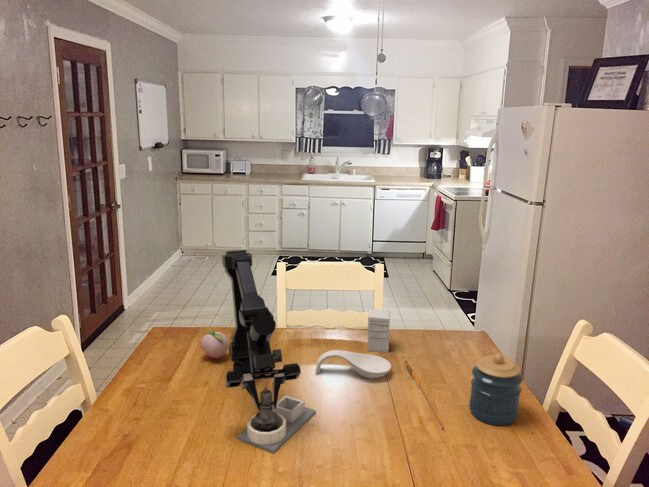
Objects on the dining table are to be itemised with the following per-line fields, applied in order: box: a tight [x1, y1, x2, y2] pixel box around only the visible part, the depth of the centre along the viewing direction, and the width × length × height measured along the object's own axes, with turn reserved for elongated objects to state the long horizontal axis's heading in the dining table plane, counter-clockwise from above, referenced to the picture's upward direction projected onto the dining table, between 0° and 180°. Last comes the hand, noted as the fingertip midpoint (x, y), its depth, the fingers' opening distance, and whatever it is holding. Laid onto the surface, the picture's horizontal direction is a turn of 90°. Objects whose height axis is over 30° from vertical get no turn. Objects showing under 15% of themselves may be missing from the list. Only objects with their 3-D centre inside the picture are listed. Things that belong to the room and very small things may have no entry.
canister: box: [468, 353, 524, 426], centre depth 143 cm, size 13×13×18 cm
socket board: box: [237, 395, 317, 454], centre depth 138 cm, size 20×11×4 cm, turn 150°
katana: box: [404, 360, 444, 429], centre depth 153 cm, size 1×35×3 cm, turn 7°
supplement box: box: [366, 309, 391, 353], centre depth 182 cm, size 7×7×13 cm
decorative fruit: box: [200, 330, 230, 359], centre depth 173 cm, size 9×8×10 cm
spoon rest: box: [314, 349, 392, 380], centre depth 165 cm, size 24×12×7 cm, turn 87°
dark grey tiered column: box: [255, 387, 278, 432], centre depth 132 cm, size 6×6×12 cm
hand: (267, 409), depth 131 cm, fingers closed on dark grey tiered column, 4 cm apart
